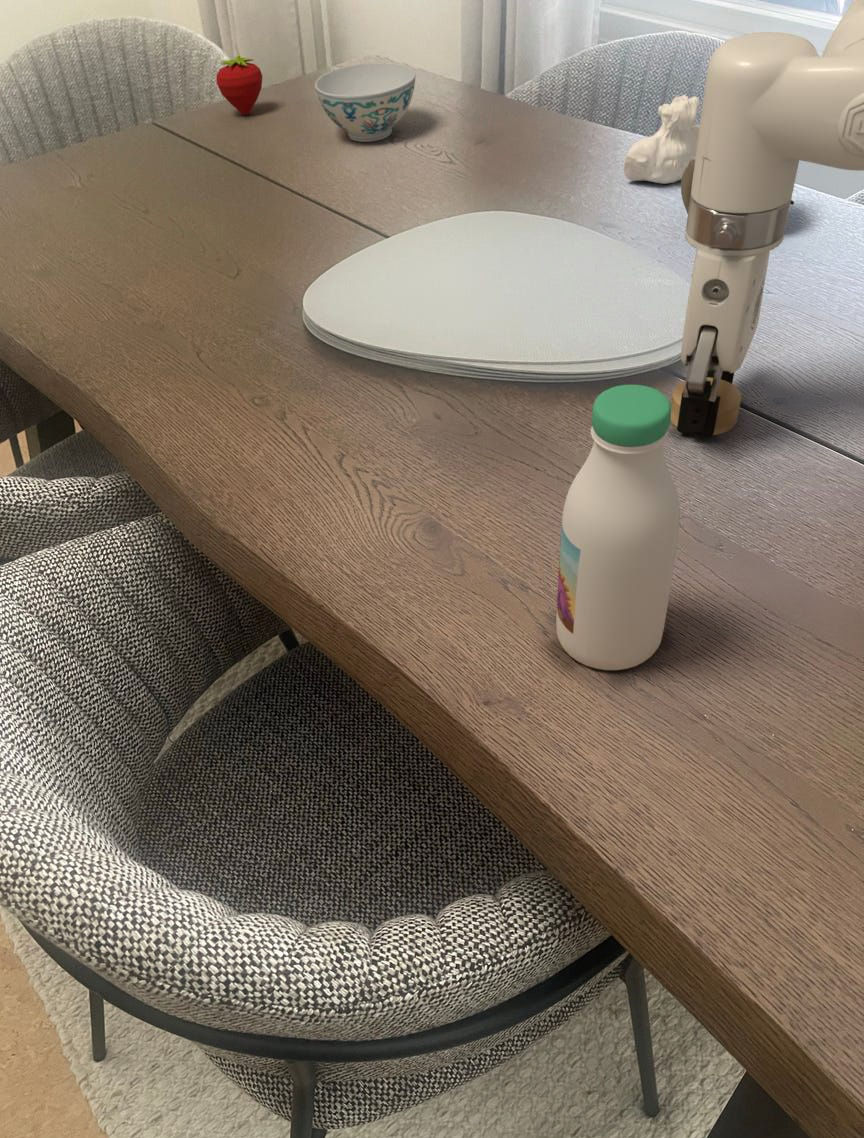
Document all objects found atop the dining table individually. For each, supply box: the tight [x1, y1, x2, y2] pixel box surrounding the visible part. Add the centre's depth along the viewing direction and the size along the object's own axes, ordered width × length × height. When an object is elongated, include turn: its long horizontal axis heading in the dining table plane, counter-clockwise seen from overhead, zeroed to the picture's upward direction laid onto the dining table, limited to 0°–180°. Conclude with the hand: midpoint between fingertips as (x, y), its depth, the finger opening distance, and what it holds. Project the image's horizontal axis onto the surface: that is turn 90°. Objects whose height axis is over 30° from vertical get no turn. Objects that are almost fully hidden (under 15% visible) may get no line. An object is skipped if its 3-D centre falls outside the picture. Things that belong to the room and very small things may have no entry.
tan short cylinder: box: [670, 377, 742, 436], centre depth 89 cm, size 6×6×2 cm
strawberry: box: [216, 45, 263, 116], centre depth 157 cm, size 6×8×10 cm
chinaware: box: [314, 61, 416, 143], centre depth 146 cm, size 15×15×8 cm
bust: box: [623, 94, 701, 185], centre depth 123 cm, size 12×8×11 cm
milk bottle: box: [555, 384, 681, 671], centre depth 65 cm, size 8×8×20 cm
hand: (704, 411), depth 89 cm, fingers closed on tan short cylinder, 6 cm apart
